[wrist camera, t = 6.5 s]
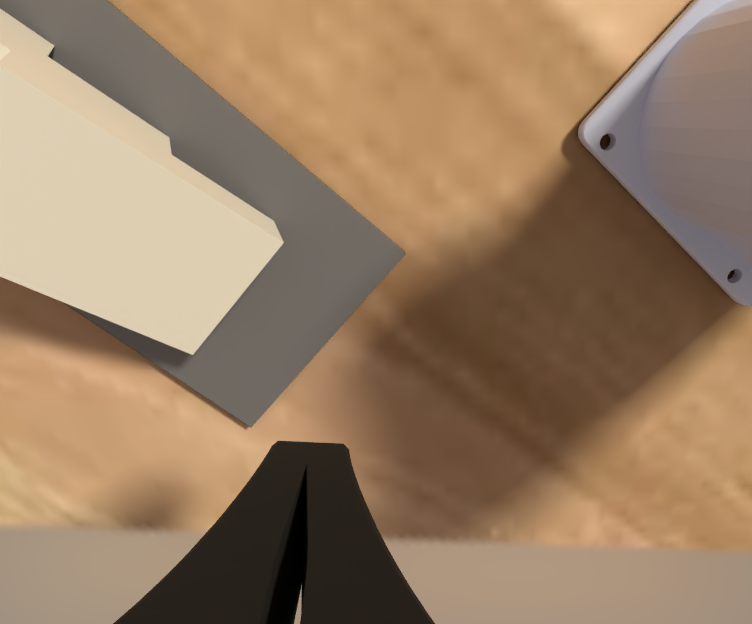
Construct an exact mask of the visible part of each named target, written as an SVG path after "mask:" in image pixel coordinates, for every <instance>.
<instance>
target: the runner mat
mask: <svg viewBox="0 0 752 624" xmlns="http://www.w3.org/2000/svg"><path fill="white" fill-rule="evenodd" d="M0 9H2V10H3V11H5V12H6V13H7V14H9V15H10V16H12V17H13V18H15V19H16V20H18V21H19V22H21V23H22V24H24V25H25V26H26V27H28V28H29V29H31V30H32V31H34V32H35V33H37V34H38V35H40V36H41V37H42V38H44V39H45V40H47V41H48V42H50V43H51V44H53V45H54V48H53V49H52V51H51V53H50V54H49V56H48V57H49V58H51V59H52V60H54V61H55V62H57V63H58V64H60V65H61V66H63V67H64V68H66V69H67V70H69V71H70V72H72V73H73V74H75V75H76V76H78V77H79V78H81V79H82V80H84V81H85V82H87V83H88V84H90V85H91V86H93V87H94V88H96V89H97V90H99V91H100V92H102V93H103V94H105V95H106V96H108V97H109V98H111V99H112V100H114V101H115V102H117V103H118V104H120V105H121V106H123V107H124V108H126V109H127V110H129V111H130V112H132V113H133V114H135V115H136V116H138V117H139V118H141V119H142V120H144V121H145V122H147V123H148V124H150V125H151V126H153V127H154V128H156V129H157V130H159V131H160V132H162V133H163V134H165V135H166V136H168V137H169V139H170V146H171V153H172V155H173V156H175V157H176V158H178V159H179V160H181V161H182V162H184V163H186V164H187V165H189V166H190V167H192V168H193V169H195V170H196V171H198V172H199V173H201V174H202V175H204V176H206V177H207V178H209V179H210V180H212V181H213V182H215V183H216V184H218V185H219V186H221V187H222V188H224V189H226V190H227V191H229V192H230V193H232V194H233V195H235V196H236V197H238V198H239V199H241V200H243V201H244V202H246V203H247V204H249V205H250V206H252V207H253V208H255V209H256V210H258V211H259V212H261V213H263V214H264V215H266V216H267V217H269V218H270V219H272V220H273V221H274V222H275V224H276V227H277V229H278V231H279V233H280V236H281V238H282V240H283V242H284V243H283V244H282V246H281V247H280V248H279V249H278V250H277V252H276V253H275V254H274V255H273V257H272V258H271V259H270V260H269V262H268V263H267V264H266V265H265V267H264V268H263V269H262V270H261V271H260V273H259V274H258V275H257V276H256V278H255V279H254V280H253V281H252V283H251V284H250V285H249V286H248V288H247V289H246V290H245V291H244V292H243V294H242V295H241V296H240V297H239V299H238V300H237V301H236V302H235V304H234V305H233V306H232V307H231V309H230V310H229V311H228V312H227V313H226V315H225V316H224V317H223V318H222V320H221V321H220V322H219V323H218V325H217V326H216V327H215V328H214V330H213V331H212V332H211V333H210V334H209V336H208V337H207V338H206V339H205V341H204V342H203V343H202V344H201V346H200V347H199V348H198V349H197V351H196V352H195V353H194V354H193V355H192V354H189V353H187V352H184V351H182V350H179V349H177V348H174V347H172V346H169V345H167V344H165V343H162V342H160V341H157V340H155V339H152V338H150V337H147V336H145V335H142V334H140V333H138V332H135V331H133V330H130V329H128V328H125V327H123V326H120V325H118V324H115V323H113V322H111V321H108V320H106V319H103V318H101V317H98V316H96V315H93V314H91V313H88V312H86V311H83V310H81V309H79V308H76V307H74V306H71V305H69V304H66V303H64V302H63V303H64V304H66V305H67V306H69V307H70V308H72V309H74V310H75V311H77V312H78V313H80V314H81V315H83V316H84V317H86V318H87V319H89V320H90V321H92V322H93V323H95V324H96V325H98V326H99V327H101V328H102V329H104V330H105V331H107V332H108V333H110V334H111V335H113V336H114V337H116V338H117V339H119V340H120V341H122V342H123V343H125V344H126V345H128V346H129V347H131V348H132V349H134V350H135V351H137V352H138V353H140V354H141V355H143V356H144V357H146V358H147V359H149V360H150V361H152V362H153V363H155V364H156V365H158V366H159V367H161V368H162V369H164V370H165V371H167V372H168V373H170V374H171V375H173V376H174V377H176V378H177V379H179V380H180V381H182V382H183V383H185V384H186V385H188V386H189V387H191V388H192V389H194V390H195V391H197V392H198V393H200V394H201V395H203V396H204V397H206V398H207V399H209V400H210V401H212V402H213V403H215V404H216V405H218V406H219V407H221V408H222V409H224V410H225V411H227V412H228V413H230V414H231V415H233V416H234V417H236V418H237V419H239V420H240V421H242V422H243V423H245V424H246V425H248V426H250V427H252V426H253V425H254V424H255V423H256V421H257V420H258V419H259V418H260V417H261V416H262V415H263V414H264V412H265V411H266V410H267V409H268V408H269V407H270V406H271V405H272V403H273V402H274V401H275V400H276V399H277V398H278V397H279V396H280V394H281V393H282V392H283V391H284V390H285V389H286V388H287V387H288V385H289V384H290V383H291V382H292V381H293V380H294V379H295V378H296V376H297V375H298V374H299V373H300V372H301V371H302V370H303V369H304V367H305V366H306V365H307V364H308V363H309V362H310V361H311V360H312V358H313V357H314V356H315V355H316V354H317V353H318V352H319V351H320V349H321V348H322V347H323V346H324V345H325V344H326V343H327V342H328V340H329V339H330V338H331V337H332V336H333V335H334V334H335V333H336V331H337V330H338V329H339V328H340V327H341V326H342V325H343V324H344V322H345V321H346V320H347V319H348V318H349V317H350V316H351V315H352V313H353V312H354V311H355V310H356V309H357V308H358V307H359V306H360V304H361V303H362V302H363V301H364V300H365V299H366V298H367V297H368V295H369V294H370V293H371V292H372V291H373V290H374V289H375V288H376V286H377V285H378V284H379V283H380V282H381V281H382V280H383V279H384V277H385V276H386V275H387V274H388V273H389V272H390V271H391V270H392V268H393V267H394V266H395V265H396V264H397V263H398V262H399V261H400V259H401V258H402V257H403V256H404V255H405V251H404V250H402V249H401V248H400V247H399V246H398V245H397V244H395V243H394V242H393V241H392V240H391V239H389V238H388V237H387V236H386V235H385V234H384V233H382V232H381V231H380V230H379V229H378V228H376V227H375V226H374V225H373V224H372V223H370V222H369V221H368V220H367V219H366V218H365V217H363V216H362V215H361V214H360V213H359V212H357V211H356V210H355V209H354V208H353V207H352V206H350V205H349V204H348V203H347V202H346V201H344V200H343V199H342V198H341V197H340V196H339V195H337V194H336V193H335V192H334V191H333V190H331V189H330V188H329V187H328V186H327V185H326V184H324V183H323V182H322V181H321V180H320V179H318V178H317V177H316V176H315V175H314V174H313V173H311V172H310V171H309V170H308V169H307V168H305V167H304V166H303V165H302V164H301V163H300V162H298V161H297V160H296V159H295V158H294V157H292V156H291V155H290V154H289V153H288V152H287V151H285V150H284V149H283V148H282V147H281V146H279V145H278V144H277V143H276V142H275V141H274V140H272V139H271V138H270V137H269V136H268V135H266V134H265V133H264V132H263V131H262V130H261V129H259V128H258V127H257V126H256V125H255V124H253V123H252V122H251V121H250V120H249V119H248V118H246V117H245V116H244V115H243V114H242V113H240V112H239V111H238V110H237V109H236V108H235V107H233V106H232V105H231V104H230V103H229V102H227V101H226V100H225V99H224V98H223V97H222V96H220V95H219V94H218V93H217V92H216V91H214V90H213V89H212V88H211V87H210V86H209V85H207V84H206V83H205V82H204V81H203V80H201V79H200V78H199V77H198V76H197V75H196V74H194V73H193V72H192V71H191V70H190V69H188V68H187V67H186V66H185V65H184V64H183V63H181V62H180V61H179V60H178V59H177V58H175V57H174V56H173V55H172V54H171V53H169V52H168V51H167V50H166V49H165V48H164V47H162V46H161V45H160V44H159V43H158V42H156V41H155V40H154V39H153V38H152V37H151V36H149V35H148V34H147V33H146V32H145V31H143V30H142V29H141V28H140V27H139V26H138V25H136V24H135V23H134V22H133V21H132V20H130V19H129V18H128V17H127V16H126V15H125V14H123V13H122V12H121V11H120V10H119V9H117V8H116V7H115V6H114V5H113V4H112V3H110V2H109V1H108V0H0Z"/></svg>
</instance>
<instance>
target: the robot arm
mask: <svg viewBox="0 0 752 624" xmlns="http://www.w3.org/2000/svg"><path fill="white" fill-rule="evenodd" d="M605 134H608V135H609V137H610V144H609V146H608V147H607V148H606V149H604V150H603V149H601V147H600V140H601V138H602V136H604V135H605ZM578 137H579V140H580V141H581V143H582V144H583V145H584V146H585V147H586V148H587V149H588V150H589V151H590V152H591V153H592V155H593V156H594V157H595V158H596V159H597V160H598V161H599V162H600V163H601V164H602V165H603V166H604V167H605V168H606V169H607V170H608V171H609V172H610V173H611V174H612V175H613V176H614V177H615V178H616V179H617V180H618V181H619V182H620V184H621V185H622V186H623V187H624V188H625V189H626V190H627V191H628V192H629V193H630V194H631V195H632V196H633V197H634V198H635V199H636V200H637V201H638V202H639V203H640V204H641V205H642V206H643V207H644V208H645V209H646V210H647V211H648V212H649V214H650V215H651V216H652V217H653V218H654V219H655V220H656V221H657V222H658V223H659V224H660V225H661V226H662V227H663V228H664V229H665V230H666V231H667V232H668V233H669V234H670V235H671V236H672V237H673V238H674V239H675V240H676V241H677V243H678V244H679V245H680V246H681V247H682V248H683V249H684V250H685V251H686V252H687V253H688V254H689V255H690V256H691V257H692V258H693V259H694V260H695V261H696V262H697V263H698V264H699V265H700V266H701V267H702V268H703V269H704V270H705V271H706V273H707V274H708V275H709V276H710V277H711V278H712V279H713V280H714V281H715V282H716V283H717V284H718V285H719V286H720V287H721V288H722V289H723V290H724V291H725V292H726V293H727V294H728V295H729V296H730V297H731V298H732V299H733V300H734V301H735V302H737V303H739V304H741V305H745V306H749V305H752V0H694V1H693V2H692V3H691V4H690V5H689V6H688V7H687V8H686V9H685V11H684V12H683V13H682V14H681V15H680V16H679V17H678V18H677V19H676V20H675V21H674V22H673V24H672V25H671V26H670V27H669V28H668V29H667V30H666V31H665V32H664V33H663V34H662V35H661V37H660V38H659V39H658V40H657V41H656V42H655V43H654V44H653V45H652V46H651V47H650V48H649V50H648V51H647V52H646V53H645V54H644V55H643V56H642V57H641V58H640V59H639V60H638V61H637V63H636V64H635V65H634V66H633V67H632V68H631V69H630V70H629V71H628V72H627V73H626V74H625V76H624V77H623V78H622V79H621V80H620V81H619V82H618V83H617V84H616V85H615V86H614V87H613V89H612V90H611V91H610V92H609V93H608V94H607V95H606V96H605V97H604V98H603V99H602V100H601V102H600V103H599V104H598V105H597V106H596V107H595V108H594V109H593V110H592V111H591V112H590V113H589V115H588V116H587V117H586V118H585V119H584V120H583V121H582V123H581V124H580V126H579V130H578ZM732 270H735V272H734V275H733V276H732V278H730V279H727V277H728V274H729V273H730V271H732ZM301 585H302V614H301V621H300V624H435V623H434V622H433V620H432V619H431V618H430V616H429V615H428V613H427V612H426V610H425V609H424V607H423V606H422V604H421V603H420V601H419V600H418V598H417V597H416V595H415V594H414V592H413V591H412V589H411V588H410V586H409V585H408V583H407V581H406V580H405V578H404V576H403V575H402V573H401V571H400V569H399V568H398V566H397V564H396V562H395V561H394V559H393V557H392V555H391V553H390V552H389V550H388V548H387V546H386V544H385V542H384V540H383V539H382V537H381V535H380V533H379V531H378V529H377V527H376V524H375V522H374V520H373V518H372V516H371V513H370V511H369V509H368V507H367V505H366V503H365V500H364V498H363V495H362V493H361V490H360V488H359V485H358V482H357V479H356V477H355V473H354V470H353V467H352V463H351V459H350V454H349V449H348V448H347V447H346V446H345V445H344V444H335V443H313V442H292V441H278V442H276V443H275V444H274V445H273V446H272V447H271V449H270V450H269V452H268V454H267V455H266V457H265V458H264V460H263V461H262V463H261V464H260V466H259V467H258V469H257V470H256V472H255V473H254V474H253V476H252V477H251V479H250V480H249V481H248V483H247V484H246V485H245V487H244V488H243V489H242V491H241V492H240V493H239V494H238V496H237V497H236V498H235V499H234V501H233V502H232V503H231V504H230V506H229V507H228V508H227V510H226V511H225V512H224V513H223V514H222V516H221V517H220V518H219V519H218V520H217V522H216V523H215V524H214V525H213V526H212V527H211V528H210V529H209V530H208V532H207V533H206V534H205V535H204V536H203V537H202V538H201V539H200V541H199V542H198V543H197V544H196V545H195V546H194V547H193V548H192V549H191V551H190V552H189V553H188V554H187V555H186V556H185V557H184V558H183V559H182V560H181V561H180V562H179V563H178V564H177V565H176V566H175V567H174V568H173V569H172V570H171V571H170V572H169V573H168V574H167V575H166V576H165V577H164V578H163V579H162V580H161V581H160V582H159V583H158V584H157V585H156V586H155V587H154V588H153V589H152V590H151V591H149V592H148V593H147V594H146V595H145V596H144V597H143V598H142V599H141V600H140V601H139V602H138V603H136V605H134V606H133V607H132V608H131V609H130V610H128V611H127V612H126V613H125V614H124V615H123V616H122V617H120V618H119V619H118V620H117V621H116V622H115V623H113V624H294V619H295V615H296V610H297V604H298V600H299V594H300V590H301Z"/></svg>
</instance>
